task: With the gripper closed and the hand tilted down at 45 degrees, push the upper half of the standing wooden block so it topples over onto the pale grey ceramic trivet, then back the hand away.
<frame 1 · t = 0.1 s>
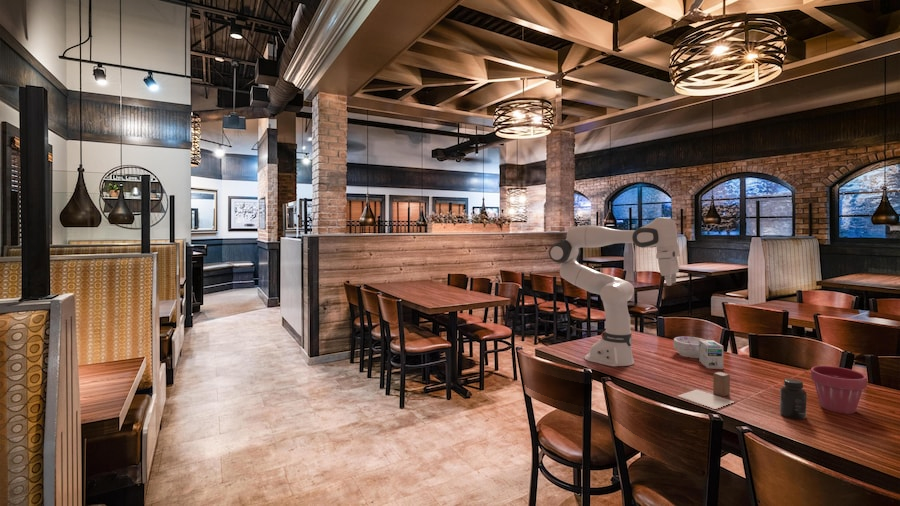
hand: (671, 284, 185), 39 cm above the table, tool pointing down, fingers open, 8 cm apart
plant pot: (837, 408, 145), on the table
supplement bottle: (792, 416, 140), on the table
light bulb box: (710, 365, 193), on the table
paper bowls: (690, 356, 208), on the table
trivet: (705, 399, 155), on the table
wooden block: (721, 394, 159), on the table
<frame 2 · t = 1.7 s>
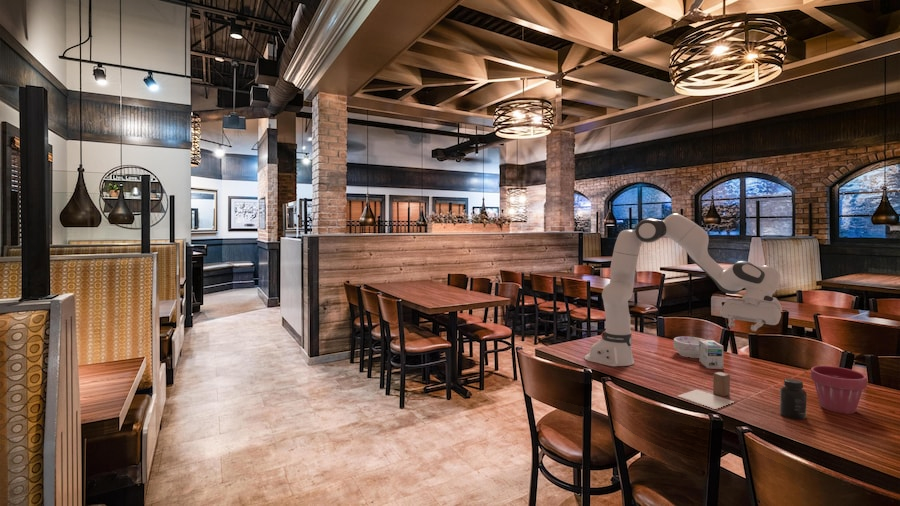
hand: (741, 328, 164), 24 cm above the table, tool tilted 45°, fingers open, 7 cm apart
nothing on the table moved.
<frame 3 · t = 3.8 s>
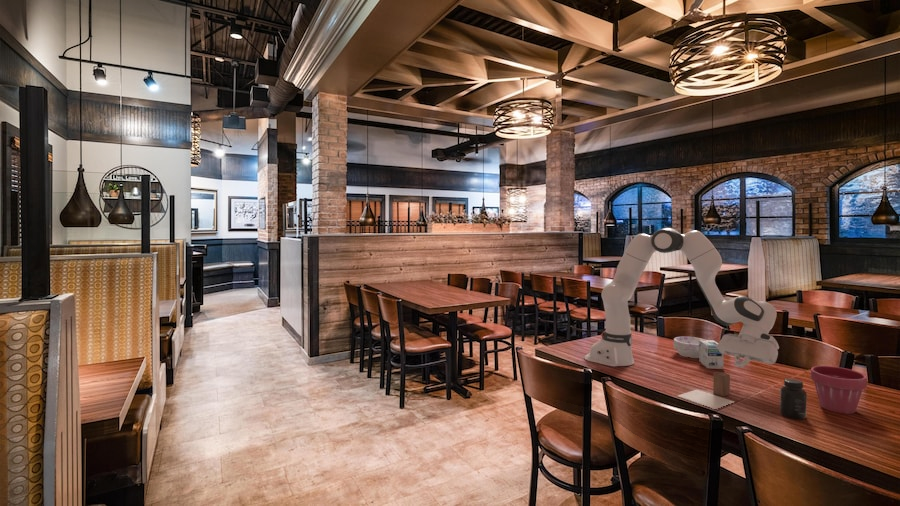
hand: (738, 365, 164), 9 cm above the table, tool tilted 45°, fingers closed
nothing on the table moved.
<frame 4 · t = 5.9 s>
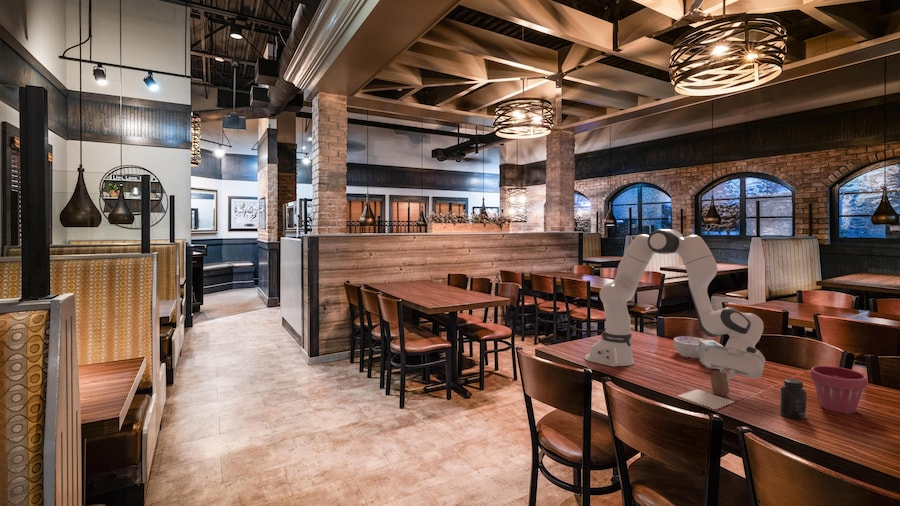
hand: (723, 379, 159), 5 cm above the table, tool tilted 45°, fingers closed
wooden block: (721, 393, 159), on the table, touching gripper
everything else where it was.
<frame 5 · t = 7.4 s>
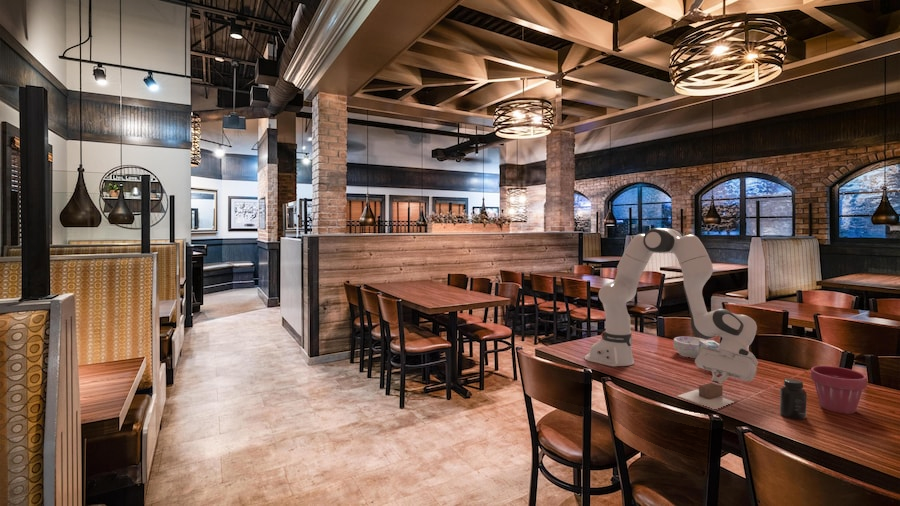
hand: (715, 382, 157), 5 cm above the table, tool tilted 45°, fingers closed
wooden block: (718, 388, 158), point 2 cm above the table, touching trivet
everything else where it was.
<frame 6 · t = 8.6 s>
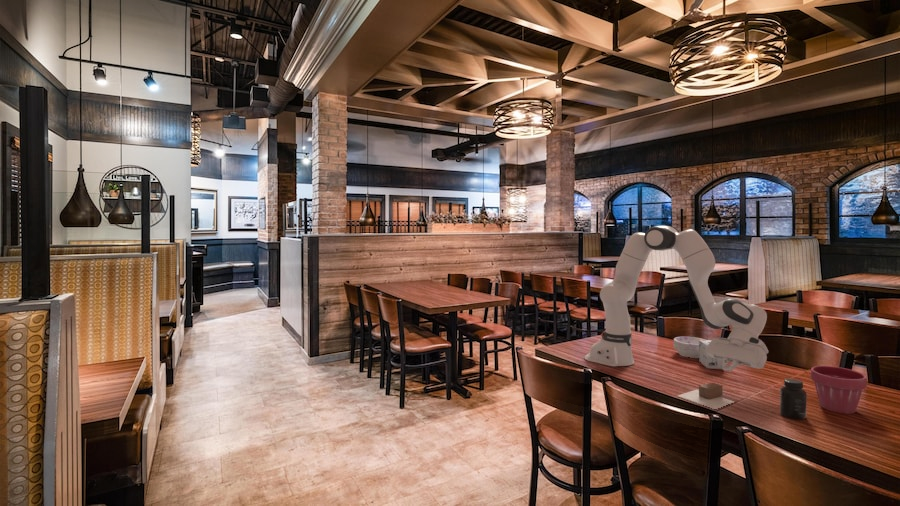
hand: (726, 370, 160), 9 cm above the table, tool tilted 45°, fingers closed
nothing on the table moved.
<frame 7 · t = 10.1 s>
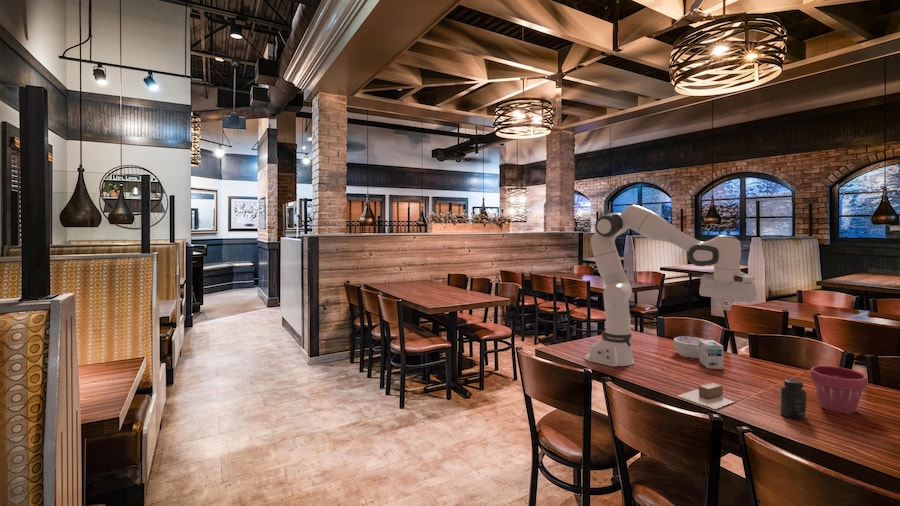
hand: (725, 310, 168), 30 cm above the table, tool pointing down, fingers closed
nothing on the table moved.
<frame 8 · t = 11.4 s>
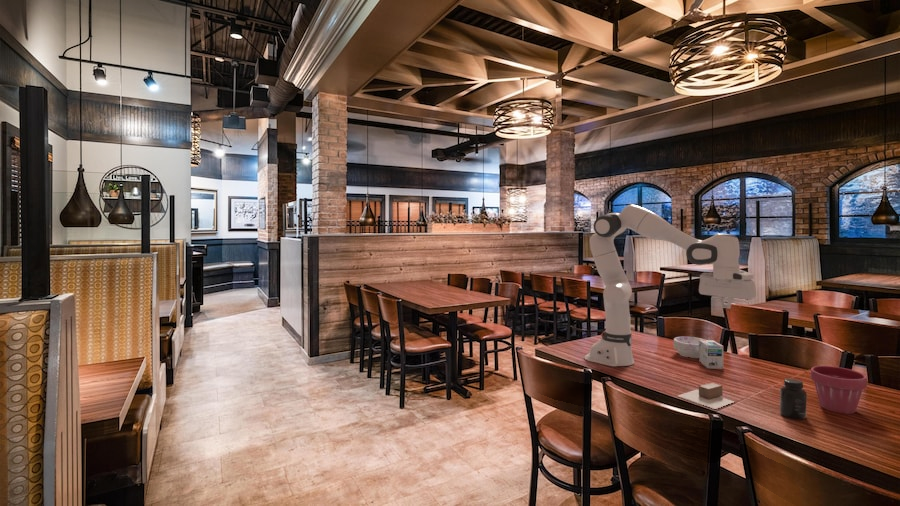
hand: (725, 308, 168), 31 cm above the table, tool pointing down, fingers closed
nothing on the table moved.
at the end: wooden block tilted 90°; wooden block inside the target area (6.5 cm from its centre), point 2.4 cm above the table; the gripper is holding nothing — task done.
